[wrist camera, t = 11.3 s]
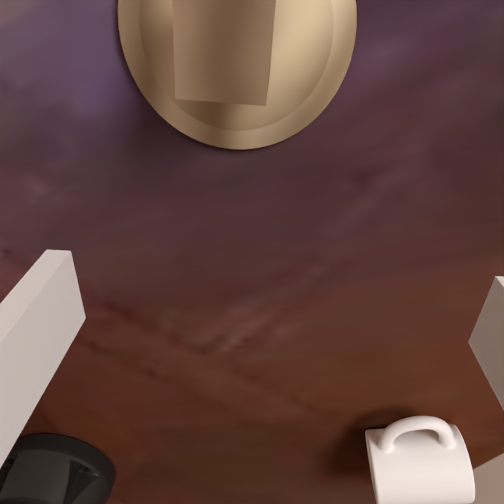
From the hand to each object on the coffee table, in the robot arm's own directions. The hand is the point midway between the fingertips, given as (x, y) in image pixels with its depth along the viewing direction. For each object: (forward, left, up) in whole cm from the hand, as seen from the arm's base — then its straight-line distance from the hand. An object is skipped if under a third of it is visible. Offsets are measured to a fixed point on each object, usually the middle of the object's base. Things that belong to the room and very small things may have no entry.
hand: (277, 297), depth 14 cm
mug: (+19, -35, -23) cm, 46 cm away
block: (-4, +5, -21) cm, 22 cm away
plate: (-4, +5, -22) cm, 23 cm away
